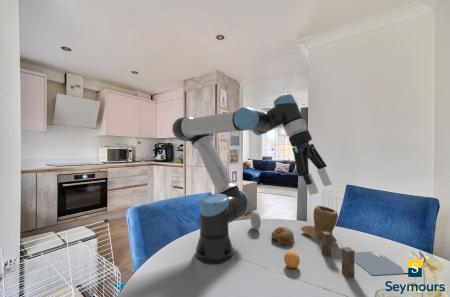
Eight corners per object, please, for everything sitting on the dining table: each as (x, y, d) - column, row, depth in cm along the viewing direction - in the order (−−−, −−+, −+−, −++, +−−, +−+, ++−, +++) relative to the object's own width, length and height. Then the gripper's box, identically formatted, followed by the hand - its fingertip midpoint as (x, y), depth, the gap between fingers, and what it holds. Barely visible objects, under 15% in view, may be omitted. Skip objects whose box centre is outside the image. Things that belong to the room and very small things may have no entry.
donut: (249, 225, 110) (249, 207, 110) (255, 225, 111) (255, 207, 110) (255, 233, 100) (255, 214, 100) (261, 233, 101) (261, 213, 100)
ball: (287, 271, 70) (287, 256, 70) (281, 262, 75) (281, 248, 75) (302, 271, 70) (302, 255, 70) (295, 262, 76) (295, 247, 76)
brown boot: (344, 243, 90) (344, 210, 89) (322, 247, 86) (322, 213, 86) (319, 229, 104) (319, 201, 104) (300, 232, 101) (300, 203, 101)
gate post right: (346, 278, 66) (347, 251, 66) (341, 273, 69) (341, 247, 69) (354, 277, 67) (354, 251, 66) (349, 272, 69) (349, 247, 69)
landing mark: (371, 275, 68) (371, 275, 68) (344, 253, 82) (344, 252, 82) (410, 273, 69) (410, 272, 69) (376, 251, 83) (376, 251, 83)
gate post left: (325, 257, 79) (325, 234, 79) (321, 253, 82) (321, 231, 81) (331, 256, 79) (331, 234, 79) (327, 253, 82) (327, 231, 82)
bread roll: (291, 254, 88) (299, 239, 87) (269, 242, 89) (277, 227, 89) (288, 243, 97) (296, 229, 96) (269, 233, 99) (276, 219, 98)
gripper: (291, 129, 62) (319, 195, 58) (319, 129, 80) (342, 179, 76) (272, 138, 67) (296, 200, 63) (302, 137, 85) (323, 184, 81)
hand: (321, 189), depth 69 cm, fingers open, 13 cm apart
